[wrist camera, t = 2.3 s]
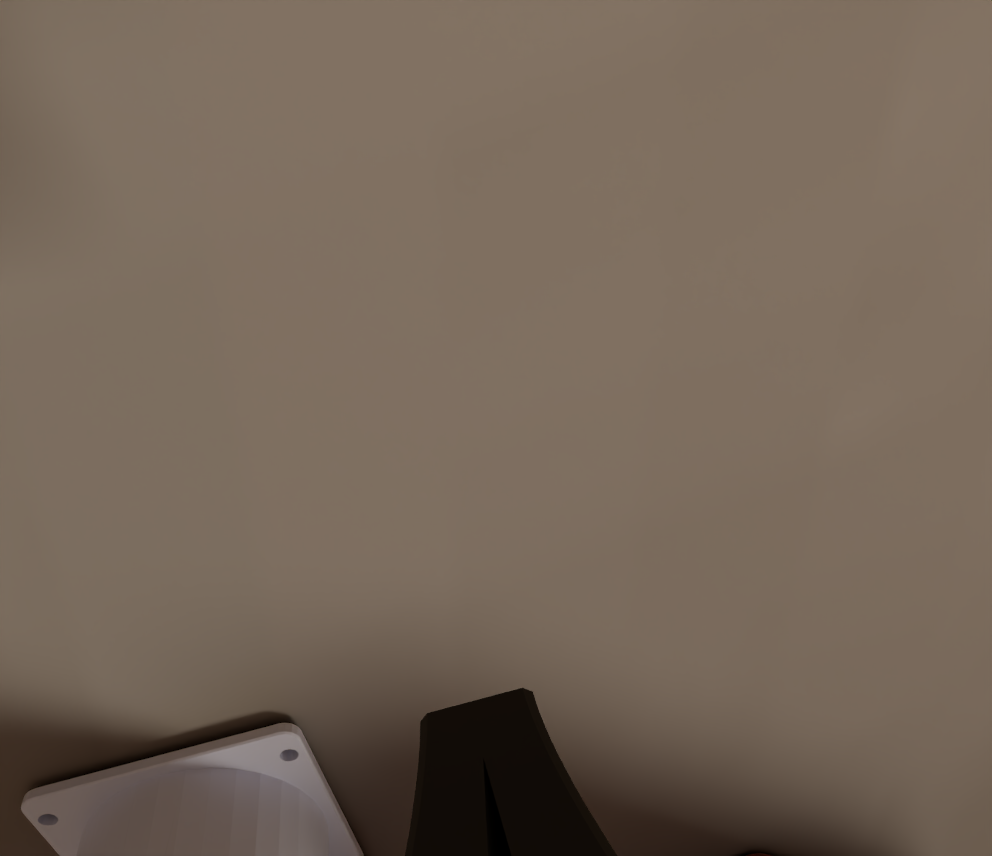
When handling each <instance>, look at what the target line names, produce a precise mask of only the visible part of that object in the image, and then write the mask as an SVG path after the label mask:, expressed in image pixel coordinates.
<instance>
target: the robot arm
mask: <svg viewBox="0 0 992 856" xmlns="http://www.w3.org/2000/svg"><path fill="white" fill-rule="evenodd" d="M288 749H291V750H288ZM21 811H22V813H23V814H24V815H25V816H26V817H27V819H28V820H29V821H30V822H31V823H32V824H33V826H34V827H35V828H36V829H37V830H38V831H39V833H40V834H41V835H42V836H43V837H44V838H45V839H46V841H47V842H48V843H49V844H50V845H51V846H52V848H53V849H54V850H55V851H56V852H57V853H58V855H59V856H364V854H363V852H362V850H361V848H360V846H359V844H358V842H357V840H356V838H355V836H354V834H353V832H352V830H351V828H350V826H349V824H348V822H347V820H346V818H345V816H344V814H343V812H342V810H341V808H340V806H339V804H338V802H337V800H336V798H335V796H334V794H333V792H332V790H331V788H330V786H329V785H328V783H327V781H326V779H325V777H324V775H323V773H322V771H321V769H320V767H319V765H318V763H317V761H316V759H315V757H314V755H313V753H312V751H311V749H310V747H309V745H308V743H307V741H306V739H305V737H304V735H303V733H302V731H301V729H300V728H299V727H298V726H296V725H294V724H292V723H278V724H275V725H271V726H267V727H263V728H260V729H256V730H252V731H248V732H245V733H241V734H237V735H233V736H230V737H226V738H222V739H218V740H215V741H211V742H207V743H203V744H200V745H196V746H192V747H188V748H185V749H181V750H177V751H173V752H169V753H166V754H162V755H158V756H154V757H151V758H147V759H143V760H139V761H136V762H132V763H128V764H124V765H121V766H117V767H113V768H109V769H106V770H102V771H98V772H94V773H91V774H87V775H83V776H79V777H76V778H72V779H68V780H64V781H60V782H57V783H53V784H49V785H45V786H42V787H38V788H35V789H32V790H30V791H28V792H27V793H26V794H25V795H24V798H23V802H22V805H21ZM405 856H617V855H616V853H615V852H614V850H613V849H612V847H611V845H610V844H609V842H608V841H607V839H606V837H605V836H604V834H603V832H602V831H601V829H600V828H599V826H598V824H597V823H596V821H595V820H594V818H593V816H592V815H591V813H590V812H589V810H588V808H587V807H586V805H585V803H584V802H583V800H582V798H581V796H580V795H579V793H578V791H577V789H576V788H575V786H574V784H573V782H572V780H571V778H570V776H569V775H568V773H567V771H566V769H565V767H564V765H563V763H562V761H561V759H560V758H559V756H558V754H557V751H556V749H555V747H554V745H553V743H552V741H551V739H550V737H549V735H548V732H547V730H546V728H545V725H544V723H543V720H542V718H541V715H540V713H539V710H538V707H537V704H536V701H535V698H534V695H533V692H532V691H529V690H527V689H524V688H520V689H516V690H513V691H509V692H505V693H501V694H498V695H494V696H490V697H487V698H483V699H479V700H475V701H472V702H468V703H464V704H460V705H457V706H453V707H449V708H445V709H442V710H438V711H434V712H430V713H427V714H426V716H425V717H424V718H423V719H422V720H421V722H420V750H419V763H418V773H417V782H416V791H415V798H414V805H413V812H412V819H411V826H410V832H409V837H408V843H407V848H406V853H405Z"/></svg>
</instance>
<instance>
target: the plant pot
mask: <svg viewBox="0 0 992 856" xmlns="http://www.w3.org/2000/svg"><path fill="white" fill-rule="evenodd" d="M746 856H772V855H768V854H762V853H757V854H750V855H746Z"/></svg>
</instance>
